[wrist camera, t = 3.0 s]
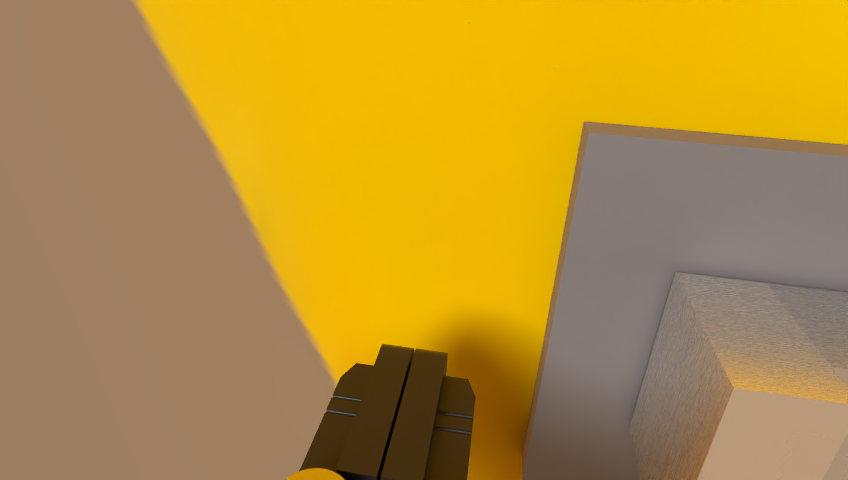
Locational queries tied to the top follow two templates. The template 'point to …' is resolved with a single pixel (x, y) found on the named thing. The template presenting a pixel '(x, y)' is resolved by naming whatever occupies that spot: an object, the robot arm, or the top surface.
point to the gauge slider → (745, 384)
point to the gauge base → (666, 267)
